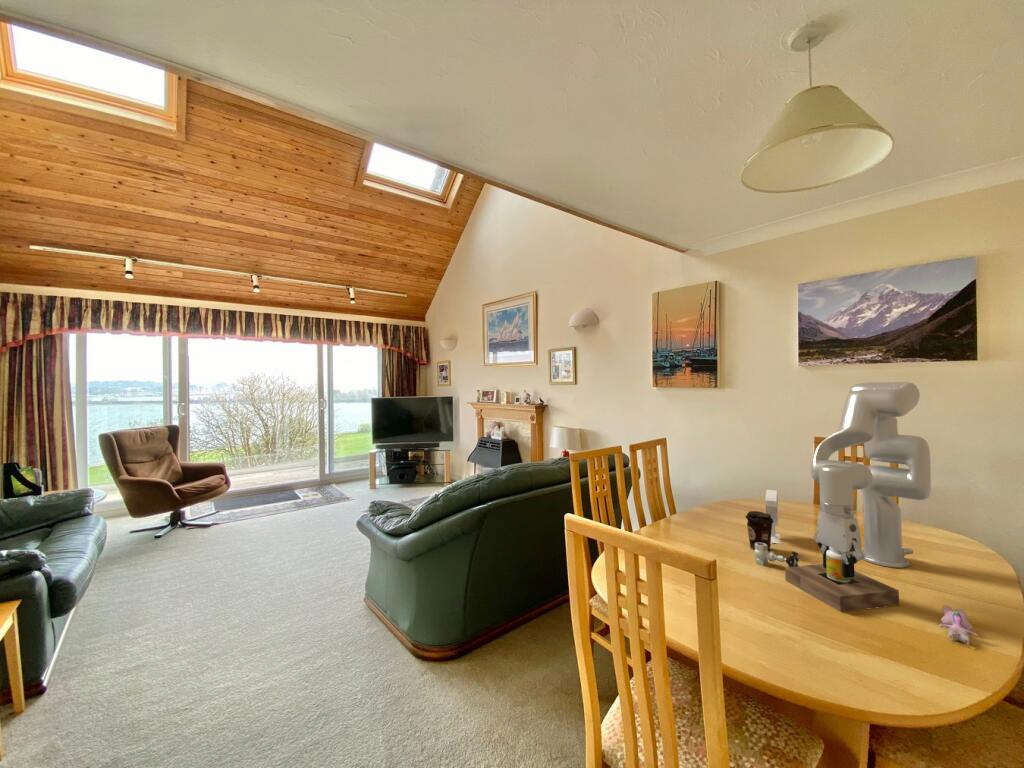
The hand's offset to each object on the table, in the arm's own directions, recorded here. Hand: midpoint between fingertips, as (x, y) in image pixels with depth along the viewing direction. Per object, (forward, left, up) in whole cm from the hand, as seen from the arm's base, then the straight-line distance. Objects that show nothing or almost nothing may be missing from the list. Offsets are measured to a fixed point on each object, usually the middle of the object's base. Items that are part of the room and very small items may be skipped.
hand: (838, 571), depth 119 cm
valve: (+5, -18, -6) cm, 20 cm away
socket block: (0, 0, -6) cm, 6 cm away
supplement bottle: (0, 0, -2) cm, 2 cm away
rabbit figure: (-10, +21, -6) cm, 24 cm away
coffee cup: (-1, -32, -6) cm, 32 cm away
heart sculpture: (-14, -41, -6) cm, 44 cm away
